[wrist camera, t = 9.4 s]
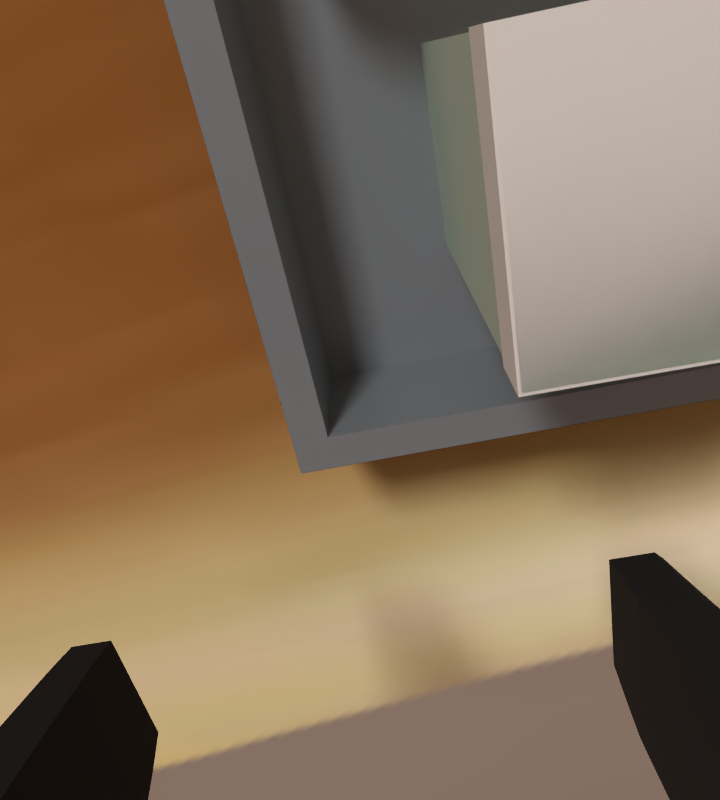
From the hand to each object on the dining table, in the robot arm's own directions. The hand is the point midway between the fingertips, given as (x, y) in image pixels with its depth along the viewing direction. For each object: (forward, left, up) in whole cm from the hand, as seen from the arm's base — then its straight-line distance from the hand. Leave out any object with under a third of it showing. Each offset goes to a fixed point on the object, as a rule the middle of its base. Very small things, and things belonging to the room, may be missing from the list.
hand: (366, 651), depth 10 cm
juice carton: (-5, -5, -9) cm, 12 cm away
